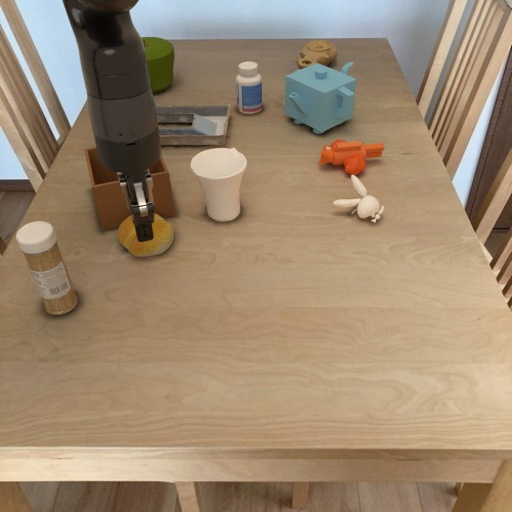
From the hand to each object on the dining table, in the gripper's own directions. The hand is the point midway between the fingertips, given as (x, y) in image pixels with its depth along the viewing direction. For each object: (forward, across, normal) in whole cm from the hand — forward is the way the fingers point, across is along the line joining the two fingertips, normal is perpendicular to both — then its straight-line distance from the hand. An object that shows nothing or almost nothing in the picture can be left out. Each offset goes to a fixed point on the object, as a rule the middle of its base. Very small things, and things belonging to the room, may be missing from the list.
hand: (145, 238), depth 76 cm
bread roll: (+8, -9, +1) cm, 12 cm away
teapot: (+7, -36, +42) cm, 56 cm away
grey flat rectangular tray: (+8, -42, +11) cm, 45 cm away
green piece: (+8, -64, +11) cm, 66 cm away
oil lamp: (+7, -61, +52) cm, 80 cm away
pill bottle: (+7, -46, +30) cm, 55 cm away
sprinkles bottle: (+8, +1, -13) cm, 16 cm away
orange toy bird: (+7, -17, +40) cm, 44 cm away
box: (+8, -20, 0) cm, 22 cm away
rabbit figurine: (+8, -5, +35) cm, 36 cm away
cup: (+8, -13, +14) cm, 21 cm away
